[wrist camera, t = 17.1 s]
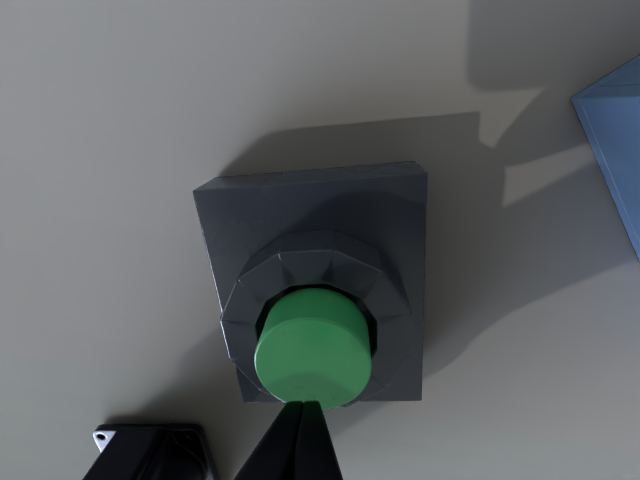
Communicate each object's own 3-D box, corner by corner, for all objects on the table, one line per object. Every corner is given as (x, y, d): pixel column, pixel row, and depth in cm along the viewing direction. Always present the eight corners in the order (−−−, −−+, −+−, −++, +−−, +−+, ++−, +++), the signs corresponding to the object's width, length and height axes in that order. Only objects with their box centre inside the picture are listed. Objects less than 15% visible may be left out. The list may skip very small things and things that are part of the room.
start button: (370, 369, 12) (374, 410, 11) (274, 372, 13) (263, 411, 11) (366, 284, 11) (369, 315, 9) (258, 289, 11) (243, 320, 10)
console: (412, 364, 17) (431, 439, 13) (255, 368, 17) (231, 439, 14) (414, 160, 13) (442, 184, 9) (214, 177, 14) (166, 205, 10)
